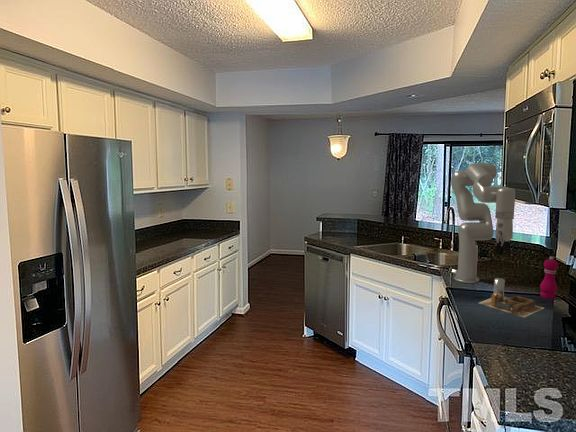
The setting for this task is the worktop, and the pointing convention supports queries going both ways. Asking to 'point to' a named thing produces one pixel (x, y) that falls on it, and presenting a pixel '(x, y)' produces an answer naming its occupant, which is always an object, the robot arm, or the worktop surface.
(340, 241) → the worktop surface
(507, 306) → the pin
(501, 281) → the peg
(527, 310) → the dock
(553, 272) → the pepper mill
